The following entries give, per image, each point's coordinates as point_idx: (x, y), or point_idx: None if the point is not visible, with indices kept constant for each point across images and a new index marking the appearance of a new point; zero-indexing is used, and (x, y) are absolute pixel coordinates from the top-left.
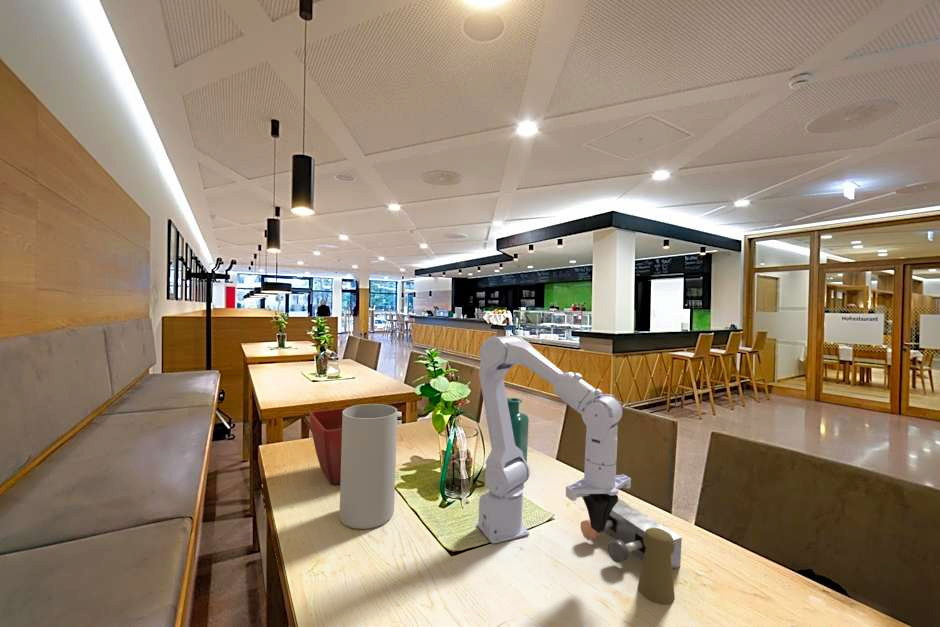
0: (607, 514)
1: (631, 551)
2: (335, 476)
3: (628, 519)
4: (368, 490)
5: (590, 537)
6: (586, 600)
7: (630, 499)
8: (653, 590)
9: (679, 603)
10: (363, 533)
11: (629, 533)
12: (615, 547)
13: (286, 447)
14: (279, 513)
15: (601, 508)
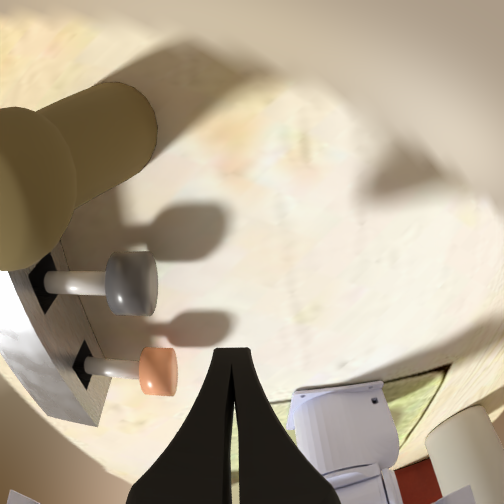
0: (205, 421)
1: None
2: None
3: (44, 356)
4: (493, 445)
5: (170, 351)
6: (342, 180)
7: (12, 383)
8: (134, 107)
9: (80, 78)
10: (480, 399)
11: (58, 322)
12: (144, 291)
13: None
14: (496, 417)
15: (285, 468)
